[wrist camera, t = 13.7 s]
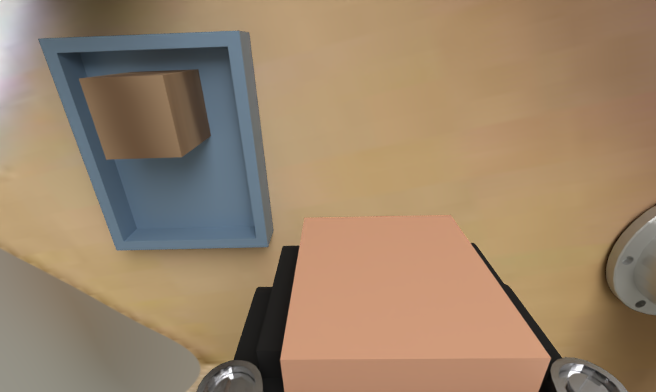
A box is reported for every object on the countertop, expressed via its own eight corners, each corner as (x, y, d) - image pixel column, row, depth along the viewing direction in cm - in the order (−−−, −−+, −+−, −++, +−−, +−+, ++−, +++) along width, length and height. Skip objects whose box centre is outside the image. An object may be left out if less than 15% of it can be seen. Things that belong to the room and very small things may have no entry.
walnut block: (198, 69, 21) (162, 75, 17) (211, 135, 23) (181, 157, 19) (131, 71, 22) (78, 78, 17) (150, 137, 23) (106, 159, 19)
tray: (249, 32, 21) (238, 30, 19) (273, 230, 27) (268, 247, 25) (69, 39, 21) (38, 38, 19) (134, 233, 28) (116, 250, 25)
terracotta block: (450, 215, 10) (551, 358, 5) (434, 323, 12) (498, 498, 7) (304, 217, 10) (280, 359, 5) (311, 325, 12) (298, 497, 7)
